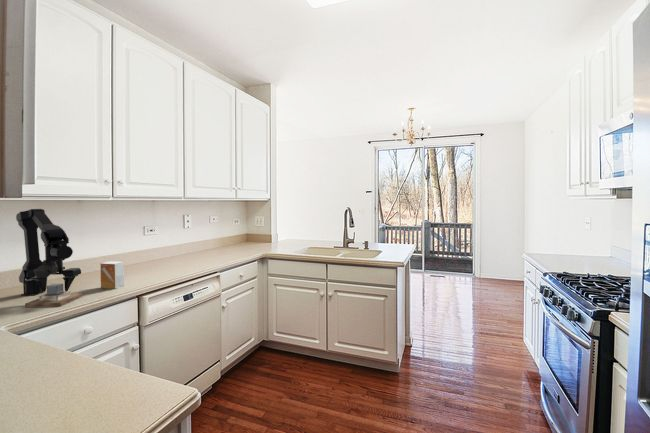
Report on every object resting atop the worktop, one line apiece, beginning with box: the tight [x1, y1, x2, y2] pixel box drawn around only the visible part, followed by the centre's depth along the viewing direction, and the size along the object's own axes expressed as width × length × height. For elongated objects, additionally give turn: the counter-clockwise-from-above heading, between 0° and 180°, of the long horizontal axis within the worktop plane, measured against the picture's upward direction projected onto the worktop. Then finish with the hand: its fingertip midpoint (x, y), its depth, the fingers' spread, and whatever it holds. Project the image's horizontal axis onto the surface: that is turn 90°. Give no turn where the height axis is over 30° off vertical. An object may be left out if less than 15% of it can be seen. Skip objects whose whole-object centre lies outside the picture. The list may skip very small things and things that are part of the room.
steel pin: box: [46, 283, 64, 296], centre depth 139 cm, size 4×4×6 cm
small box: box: [100, 260, 125, 290], centre depth 162 cm, size 8×6×13 cm
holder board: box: [24, 290, 84, 308], centre depth 139 cm, size 14×14×4 cm
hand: (55, 291), depth 139 cm, fingers open, 9 cm apart
